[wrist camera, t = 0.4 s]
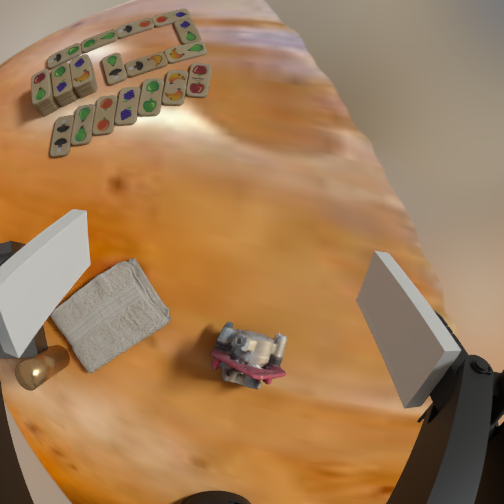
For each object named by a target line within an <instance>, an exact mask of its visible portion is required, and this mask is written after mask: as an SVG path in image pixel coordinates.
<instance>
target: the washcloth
mask: <svg viewBox="0 0 504 504" xmlns="http://www.w3.org/2000/svg"><path fill="white" fill-rule="evenodd" d="M50 316H51V318H52V320H53V321H54V323H55V325H56V326H57V327H58V329H59V330H60V331H61V333H62V334H63V335H64V336H65V337H66V339H67V341H68V342H69V343H70V345H71V346H72V350H73V352H74V353H75V355H76V357H77V358H78V359H79V361H80V362H81V364H82V365H83V366H84V368H85V369H86V370H87V371H88V372H89V373H91V372H92V373H93V372H94V371H95V370H97V369H98V368H100V367H101V366H103V365H104V364H106V363H107V362H110V361H111V360H112V359H113V358H114V357H116V356H118V355H119V354H121V353H123V352H125V351H126V350H128V349H130V347H132V346H133V345H136V344H137V343H138V342H140V341H141V340H143V339H145V338H146V337H148V336H149V335H151V334H153V333H154V332H155V331H158V330H159V329H161V328H162V327H163V326H165V325H166V324H168V323H169V322H170V319H171V317H170V316H169V308H167V307H166V306H165V305H164V304H163V302H162V300H161V299H160V297H159V295H158V294H157V292H156V291H155V290H154V288H153V287H152V285H151V283H150V282H149V280H148V278H147V277H146V275H145V274H144V272H143V270H142V268H141V267H140V265H139V264H138V262H137V261H136V259H135V258H132V259H130V260H128V261H127V262H126V261H124V262H120V263H118V264H116V265H114V266H113V267H112V268H110V269H108V270H107V271H105V272H104V273H102V274H99V275H98V276H96V277H95V278H94V279H93V280H91V281H90V282H89V283H88V284H86V285H85V286H84V287H83V288H81V289H80V290H78V291H77V292H75V293H74V294H73V295H72V296H71V297H70V298H69V299H68V300H66V301H65V302H64V303H62V304H61V305H60V306H58V307H57V308H56V309H55V310H54V311H53V312H52V314H50Z"/></svg>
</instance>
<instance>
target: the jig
mask: <svg viewBox="0 0 504 504" xmlns="http://www.w3.org/2000/svg"><path fill="white" fill-rule="evenodd" d="M25 245H26V244H23V243H18V242H13V241H9V242H5V243H1V244H0V264H1V263H2V262H3V261H4V260H5V259H7V258H9V257H11V256H13V255H14V254H15V253H16V252H18V251H19V250H20V249H21V248H22V247H24V246H25ZM47 349H48V346H47V342H46V337H45V333H44V328H43V325H42V326H41V328H40V329H39V330H38V332H37V333H36V335H35V336H34V338H33V339H32V340H31V342H30V343H29V345H28V346H27V348H26V349H25V351H24V352H23V353H22V355H21V356H20V358H27V357H33V356H35V355H37V354H39V353H41V352H43V351H45V350H47ZM0 358H17V357H15V356H12V355H10V354H7V353H5V352H4V350H3V348H2V346H1V344H0Z"/></svg>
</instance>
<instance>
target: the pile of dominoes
mask: <svg viewBox="0 0 504 504" xmlns="http://www.w3.org/2000/svg"><path fill="white" fill-rule="evenodd" d="M190 18H191V15H190V13H189V12H188V10H187V9H180V10H176V11H172V12H168V13H164V14H160V15H156V16H154V17H153V18H152V19H151V18H145V19H142V20H138V21H135V22H132V23H129V24H126V25H123V26H119V27H118V28H117V29H116V30H114V29H112V30H109V31H106V32H104V33H101V34H98V35H96V36H93V37H91V38H88V39H86V40H84V41H82V42H81V44H80V43H76V44H74V45H72V46H70V47H68V48H65V49H63V50H61V51H59V52H57V53H55V54H53V55H51V56H50V57H49V58H48V59H47V65H48V68H49V69H50V70H51V69H53V70H52V71H51V73H50V72H49V70H47V69H44V70H42V71H40V72H38V73H36V74H35V75H33V76H32V78H31V93H32V104H33V105H34V106H35V107H36V108H37V110H38V111H39V112H40V113H41V114H42V115H43V116H47V115H49V114H50V113H52V112H54V111H56V110H58V108H59V107H60V106H61V107H64V106H66V105H68V104H70V103H72V102H74V101H76V100H77V99H78V97H79V98H83V97H86V96H88V95H90V94H92V93H94V92H96V91H97V89H98V87H97V82H96V78H95V74H94V69H93V66H92V63H91V60H90V58H89V56H88V55H86V54H85V55H82V56H80V55H81V54H82V53H87V52H90V51H92V50H95V49H97V48H99V47H102V46H105V45H107V44H110V43H113V42H115V41H117V40H118V38H119V39H122V38H125V37H128V36H131V35H134V34H137V33H141V32H144V31H147V30H151V29H153V28H154V27H162V26H166V25H170V24H174V27H175V29H176V32H177V34H178V36H179V38H180V41H181V43H182V44H183V45H181V46H177V47H173V48H170V49H167V50H165V52H164V53H163V52H159V53H155V54H152V55H149V56H146V57H142V58H139V59H136V60H133V61H131V62H128V63H127V64H126V65H125V66H124V64H123V61H122V58H121V55H120V53H114V54H111V55H109V56H107V57H104V58H103V59H102V65H103V69H104V72H105V76H106V80H107V83H108V85H110V86H112V85H115V84H117V83H119V82H122V81H124V80H126V79H127V77H130V78H132V77H135V76H138V75H141V74H144V73H147V72H150V71H153V70H156V69H159V68H162V67H165V66H166V65H167V64H168V63H170V64H173V63H176V62H180V61H183V60H187V59H191V58H195V57H199V56H203V55H205V54H206V53H207V50H206V47H205V45H204V43H203V42H201V37H200V35H199V32H198V30H197V28H196V26H195V24H194V23H193V21H192V20H191V19H190ZM78 56H80V57H78ZM76 57H77V58H76ZM74 58H75V59H74ZM72 59H73V60H72ZM70 60H72V61H71V62H70V64H68V63H66V62H68V61H70ZM211 70H212V67H211V65H209V64H202V63H194V64H192V65H191V67H190V72H189V74H188V72H187V71H184V70H171V71H169V72H168V73H167V77H166V81H165V83H164V81H163V80H162V79H147V80H145V81H144V82H143V85H142V90H141V89H140V88H139V87H128V88H123V89H121V90H120V93H119V98H117V97H116V96H114V95H112V96H104V97H100V98H99V99H98V100H97V104H96V106H95V105H92V104H90V105H84V106H80V107H78V108H77V109H76V113H75V117H73V116H72V115H70V116H64V117H60V118H58V119H57V120H56V122H55V127H54V132H53V138H52V144H51V150H50V155H51V156H52V157H53V158H56V157H63V156H67V155H68V154H69V152H70V148H71V145H73V146H80V145H87V144H89V143H90V142H91V140H92V135H95V136H98V135H107V134H111V133H112V132H113V130H114V125H115V124H116V125H117V126H119V125H133V124H134V123H135V122H136V121H137V115H139V116H157V115H158V114H159V113H160V109H161V104H163V105H169V106H180V105H182V104H183V103H184V99H185V96H188V97H196V98H205V97H206V96H207V95H208V91H209V84H210V77H211Z"/></svg>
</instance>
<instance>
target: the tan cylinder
mask: <svg viewBox="0 0 504 504" xmlns="http://www.w3.org/2000/svg"><path fill="white" fill-rule="evenodd" d="M69 361H70V357H69V354H68V352H67V350H66V349H65V348H64V347H62V346H60V345H55V346H53V347H51V348H49V349H47V350H45V351H43V352H41V353H39V354H37V355H35V356H33V357H31V358H29V359H27V360H25V361H23V362H20V363H19V364H17V366H16V368H15V375H16V378H17V381H18V382H19V384H20V385H21V386H22V387H23V388H25V389H26V390H34V389H36V388H37V387H38V386H40V385H41V384H43V383H44V382H45V381H47V380H48V379H50V378H51V377H52V376H54V375H55V374H57V373H58V372H60V371H61V370H62V369H64V368H65V367H67V366H68V364H69Z"/></svg>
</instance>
